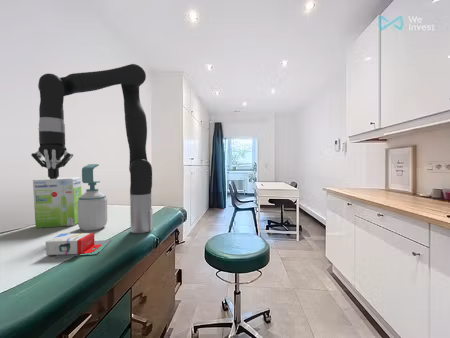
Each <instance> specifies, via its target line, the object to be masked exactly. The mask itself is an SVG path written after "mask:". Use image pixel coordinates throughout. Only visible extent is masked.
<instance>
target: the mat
mask: <svg viewBox="0 0 450 338" xmlns="http://www.w3.org/2000/svg"><path fill="white" fill-rule="evenodd" d="M110 242H112V240H111V239H108V240H107V239H105V240H104V239H103V240H102V239H101V240H94V245H98V244H102V243H103V244H105V243H107V244H108V243H109V244H110ZM109 244H108V245H109ZM77 255H80V254H66V255H54V259H62V257H64V258H73V257H72V256H77ZM77 257H78V256H77Z"/></svg>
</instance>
